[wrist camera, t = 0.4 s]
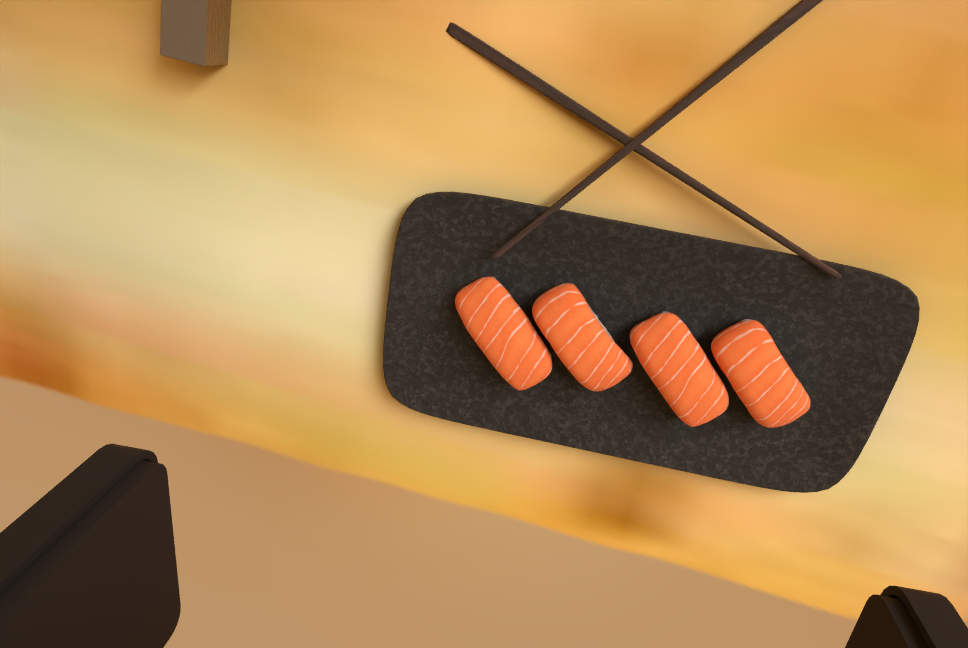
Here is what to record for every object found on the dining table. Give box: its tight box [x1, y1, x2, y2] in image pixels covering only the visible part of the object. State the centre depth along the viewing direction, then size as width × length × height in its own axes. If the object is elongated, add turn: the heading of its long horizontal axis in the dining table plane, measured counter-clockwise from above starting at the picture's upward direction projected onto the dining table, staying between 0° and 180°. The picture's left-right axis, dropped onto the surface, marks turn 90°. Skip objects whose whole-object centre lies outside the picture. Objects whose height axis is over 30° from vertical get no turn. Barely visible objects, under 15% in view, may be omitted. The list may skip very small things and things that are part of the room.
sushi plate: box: [383, 0, 919, 493], centre depth 35 cm, size 29×30×4 cm
